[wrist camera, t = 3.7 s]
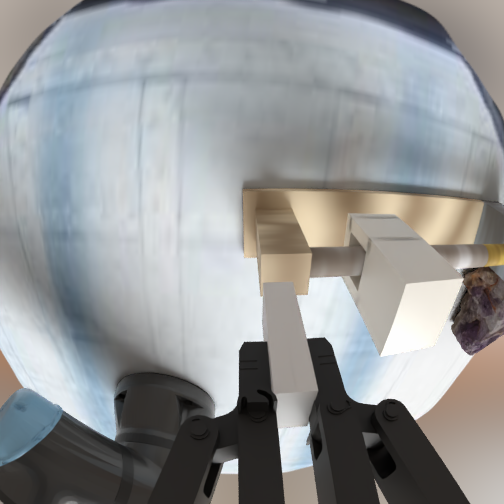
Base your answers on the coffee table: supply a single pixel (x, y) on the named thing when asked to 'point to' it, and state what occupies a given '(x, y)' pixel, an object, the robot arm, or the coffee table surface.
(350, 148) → the coffee table surface
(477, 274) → the rock
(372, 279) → the sleeve
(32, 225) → the coffee table surface
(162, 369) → the coffee table surface
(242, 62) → the coffee table surface
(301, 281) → the rail
